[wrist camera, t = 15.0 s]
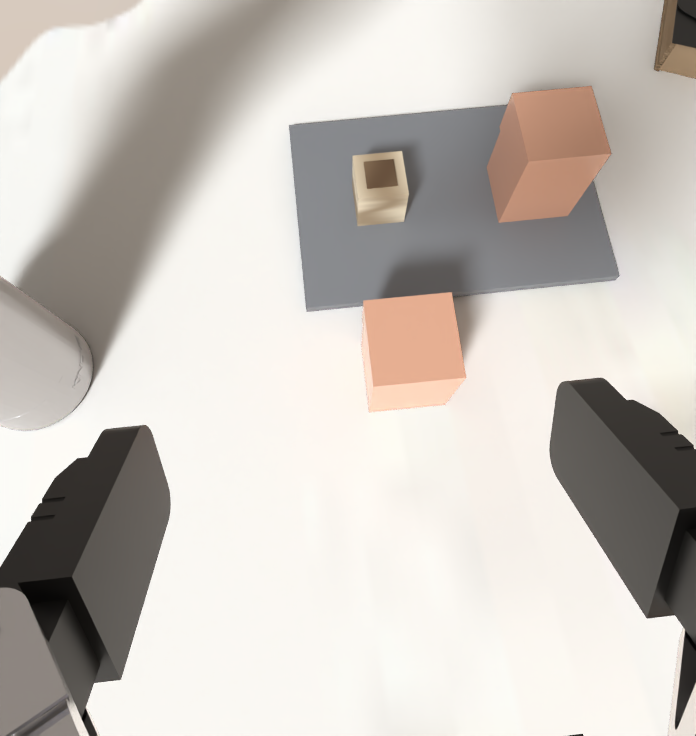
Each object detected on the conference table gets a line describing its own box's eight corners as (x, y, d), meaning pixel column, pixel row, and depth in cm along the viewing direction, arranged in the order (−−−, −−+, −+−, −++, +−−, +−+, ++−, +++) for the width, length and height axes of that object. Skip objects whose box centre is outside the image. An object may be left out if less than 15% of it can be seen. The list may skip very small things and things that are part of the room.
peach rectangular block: (498, 222, 46) (528, 161, 38) (485, 163, 47) (512, 93, 40) (567, 215, 46) (611, 153, 38) (552, 156, 47) (591, 85, 40)
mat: (306, 311, 44) (306, 307, 43) (289, 131, 49) (289, 125, 49) (614, 280, 45) (619, 275, 44) (567, 105, 50) (570, 99, 49)
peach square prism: (368, 412, 42) (373, 386, 34) (360, 340, 44) (363, 300, 36) (444, 404, 42) (466, 377, 34) (433, 333, 44) (451, 292, 36)
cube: (357, 226, 46) (358, 197, 42) (352, 184, 47) (352, 152, 43) (403, 221, 46) (409, 192, 42) (397, 180, 47) (401, 148, 43)
